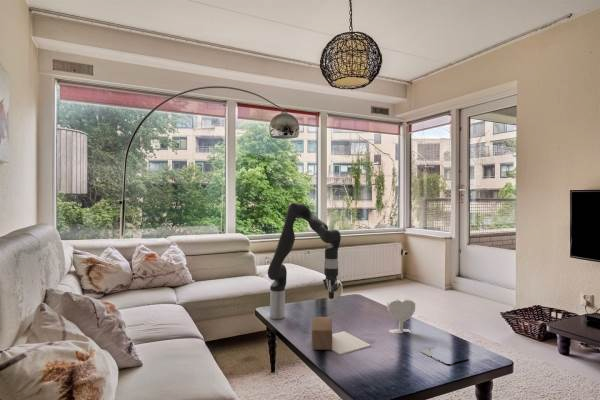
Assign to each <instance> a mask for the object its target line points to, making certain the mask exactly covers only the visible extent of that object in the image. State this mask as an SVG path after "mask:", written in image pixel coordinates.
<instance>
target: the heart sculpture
mask: <svg viewBox="0 0 600 400" xmlns="http://www.w3.org/2000/svg"><path fill="white" fill-rule="evenodd" d="M386 309H387V312H388V314H389V315H390V316H391V317H393V318H394V319H395V320H396V321H398V329H397V328H396V329H389V330H388V331H389V332H390V333H391V334H402V333H403V332H409V333H412V332H411V331H410V330H411V329H410V328H404V322H406V321H407V320H410V318H411V317H412V316H413V315H414V313H415V311H416V303H415V302H414V301H413V300H411V299H410V298H401V299H398V298H392V299H389V300H388V301H387V302H386ZM409 329H410V330H409ZM403 334H404V333H403Z"/></svg>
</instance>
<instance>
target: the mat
mask: <svg viewBox="0 0 600 400" xmlns="http://www.w3.org/2000/svg"><path fill="white" fill-rule="evenodd" d="M369 347H372V345H371V344H370V343H368V342H366V341H364V340H361V339H360V338H358V337H356V336H354V335H352V334H351V333H348V332H347V331H344V330H343V331H341V332H335V333H332V349H331V350H330V351H332V352H334V353H335V354H336V355H338V356H341V355H345V354H347V353H351V352H355V351H359V350H362V349H366V348H369Z"/></svg>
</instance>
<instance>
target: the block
mask: <svg viewBox="0 0 600 400" xmlns="http://www.w3.org/2000/svg"><path fill="white" fill-rule="evenodd" d="M332 334H333V323H332V317H331V316H314V317H312V327H311V348H312V349H313V350H314V351H315V350H317V351H320V350H326V351H327V350H329V351H332V350H331V349H332Z"/></svg>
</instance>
